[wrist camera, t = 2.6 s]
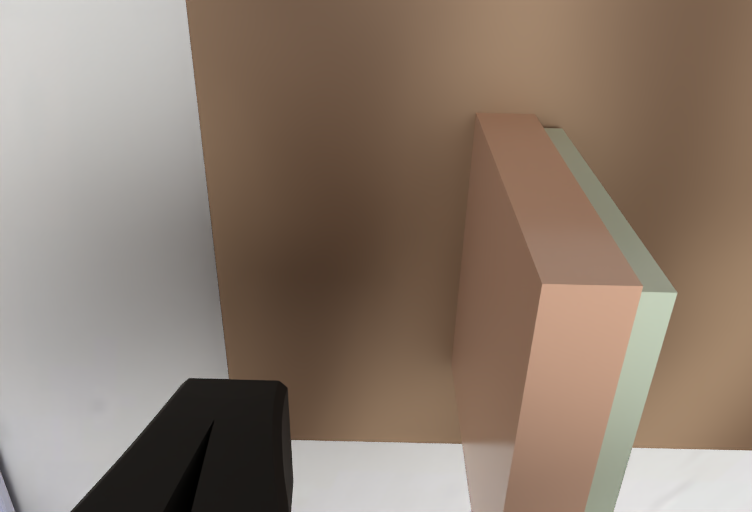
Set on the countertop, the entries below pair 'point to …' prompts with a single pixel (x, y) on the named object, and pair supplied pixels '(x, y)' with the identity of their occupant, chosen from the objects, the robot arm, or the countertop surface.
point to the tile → (550, 325)
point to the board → (464, 190)
